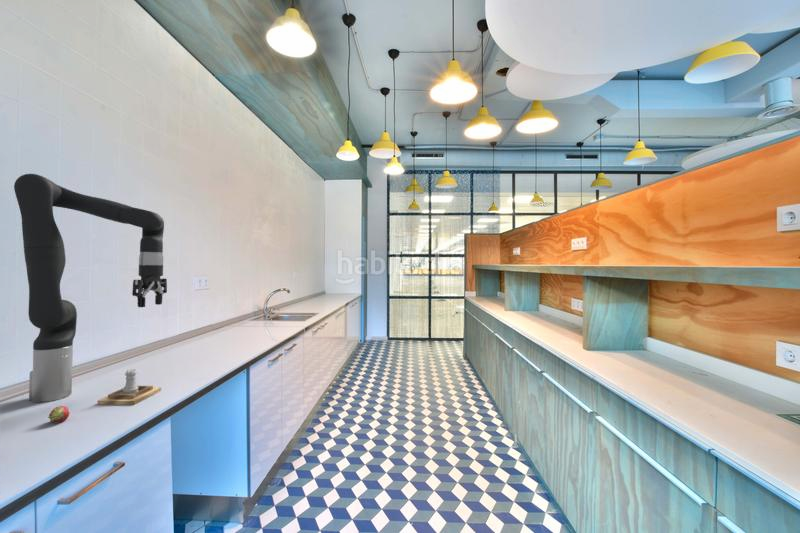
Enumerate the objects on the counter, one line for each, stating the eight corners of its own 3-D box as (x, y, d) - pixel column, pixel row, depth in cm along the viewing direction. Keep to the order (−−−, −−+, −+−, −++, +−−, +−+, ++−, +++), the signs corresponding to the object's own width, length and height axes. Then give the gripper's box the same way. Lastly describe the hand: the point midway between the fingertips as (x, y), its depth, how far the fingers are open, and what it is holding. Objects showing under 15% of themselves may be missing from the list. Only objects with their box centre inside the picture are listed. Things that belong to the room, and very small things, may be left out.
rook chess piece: (124, 392, 112) (125, 369, 112) (140, 390, 114) (141, 367, 114) (119, 396, 108) (120, 373, 108) (136, 395, 110) (136, 371, 110)
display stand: (97, 404, 105) (97, 396, 105) (128, 390, 117) (128, 383, 117) (134, 404, 105) (134, 397, 105) (161, 390, 117) (161, 384, 117)
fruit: (74, 415, 97) (75, 399, 97) (64, 424, 92) (65, 407, 92) (55, 418, 95) (55, 401, 95) (44, 427, 90) (44, 409, 90)
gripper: (155, 264, 131) (154, 303, 131) (125, 263, 117) (124, 308, 117) (173, 264, 131) (172, 303, 131) (146, 264, 117) (145, 308, 117)
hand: (150, 305), depth 124 cm, fingers open, 8 cm apart
